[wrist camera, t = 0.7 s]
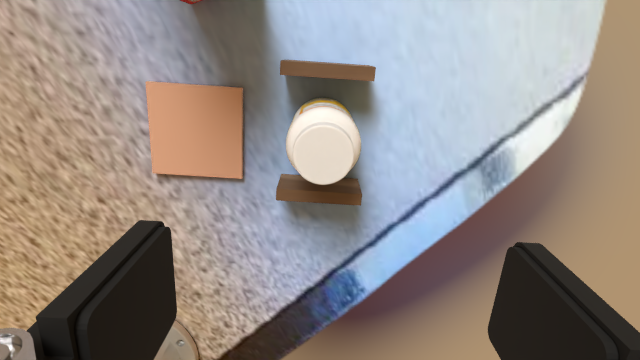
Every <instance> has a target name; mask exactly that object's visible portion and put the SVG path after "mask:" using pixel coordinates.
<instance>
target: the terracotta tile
mask: <svg viewBox="0 0 640 360" xmlns="http://www.w3.org/2000/svg"><path fill="white" fill-rule="evenodd" d="M146 93H147V106H148V118H149V131H150V144H151V157H152V170H153V173H159V174H174V175H190V176H206V177H222V178H238V179H242V178H243V88H242V87H227V86H212V85H198V84H183V83H168V82H153V81H147V82H146Z"/></svg>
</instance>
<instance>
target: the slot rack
mask: <svg viewBox="0 0 640 360" xmlns="http://www.w3.org/2000/svg"><path fill="white" fill-rule="evenodd" d="M375 69H376V67H373V66H369V65H355V64H340V63H326V62H311V61H297V60H282V61H281V63H280V75H290V76H305V77H320V78H334V79H349V80H363V81H374V78H375ZM361 198H362V193H361V189H360V186H359V182H358V179H353V178H342V179H341V180H339V181H337V182H335V183H332V184H327V185H319V184H314V183H312V182H309V181H308V180H306V179H305V178H303V177H302V176H301V175H290V174H281V177H280V180H279V183H278V186H277V191H276V200H281V201H297V202H313V203H329V204H346V205H361Z"/></svg>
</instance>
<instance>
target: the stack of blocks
mask: <svg viewBox="0 0 640 360" xmlns="http://www.w3.org/2000/svg"><path fill="white" fill-rule="evenodd" d="M180 1H183V2H186V3H189V4H193V3H196V2H199V1H202V0H180Z"/></svg>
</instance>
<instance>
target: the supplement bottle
mask: <svg viewBox="0 0 640 360" xmlns="http://www.w3.org/2000/svg"><path fill="white" fill-rule="evenodd" d="M286 151H287V155H288V158H289V161H290V162H291V164H292V166H293V167H294V168H295V169H296V170H297V171H298V172H299V174H300V175H301V176H302V177H303V178H305V179H306V180H308V181H309V182H312V183H314V184H319V185H327V184H332V183H335V182H337V181H339V180H341V179H342V178H343V177H345V176H346V175H347V173H348V172H349V171H350V170H351V169H352V168H353V167H354V165H355V164H356V162H357V160H358V158H359V155H360V151H361V139H360V134H359V131H358V129H357V127H356V125H355V123H354V121H353V119H352V117H351V115H350V113H349V111H348V110H347V109H346V108H345V107H344V106H343V105H342V104H341V103H340V102H338V101H336V100H334V99H330V98H315V99H312V100H310V101H308V102H306V103H305V104H303V105H302V106H301V107H300V108H299V109H298V111H297V112H296V114H295V116H294V118H293V121H292V123H291V126H290V128H289V130H288V134H287V138H286Z"/></svg>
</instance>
